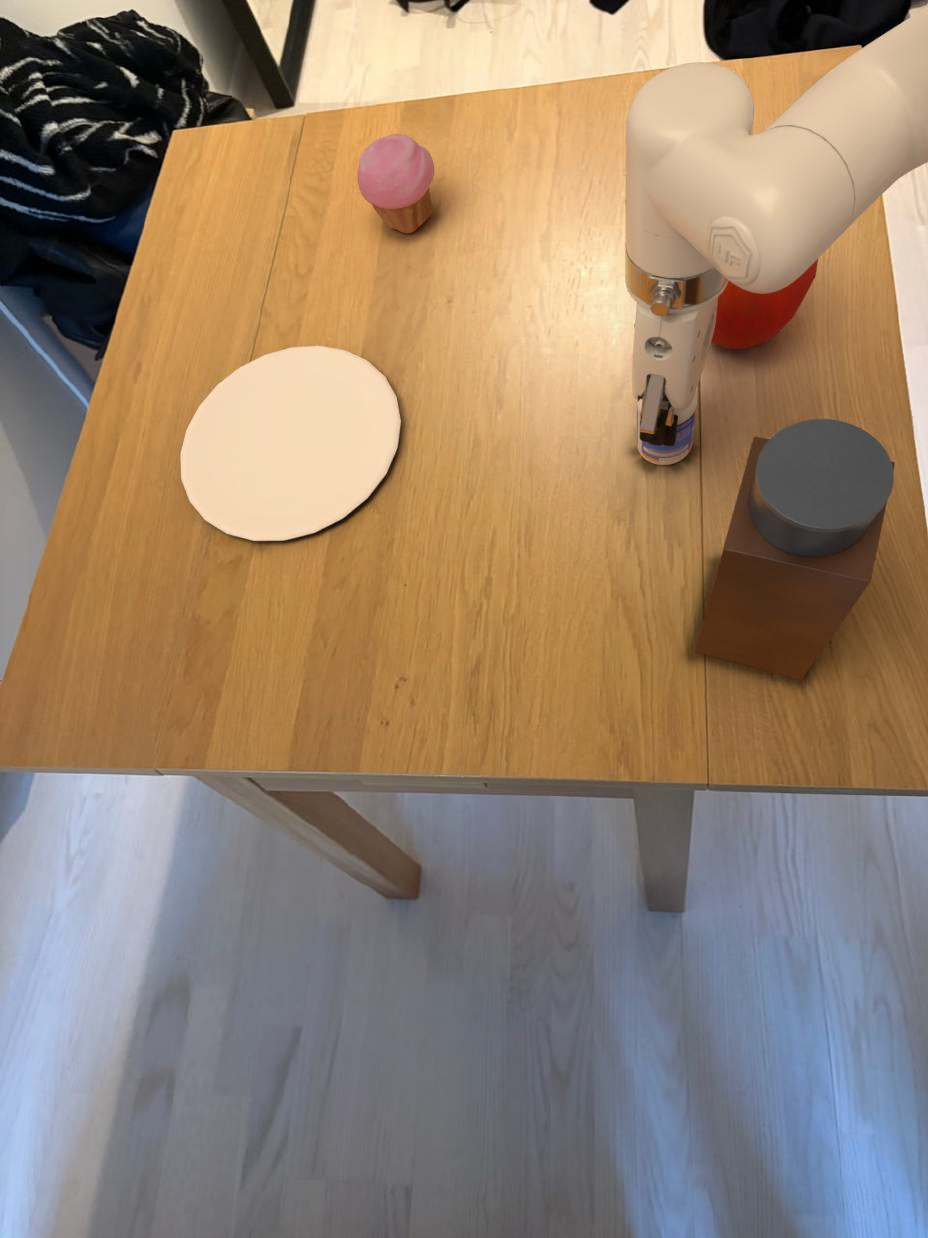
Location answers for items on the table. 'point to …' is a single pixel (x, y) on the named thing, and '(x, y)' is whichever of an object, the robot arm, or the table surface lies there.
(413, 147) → the cupcake
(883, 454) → the tin
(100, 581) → the table surface
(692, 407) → the pill bottle
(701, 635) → the stand
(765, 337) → the apple
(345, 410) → the plate
